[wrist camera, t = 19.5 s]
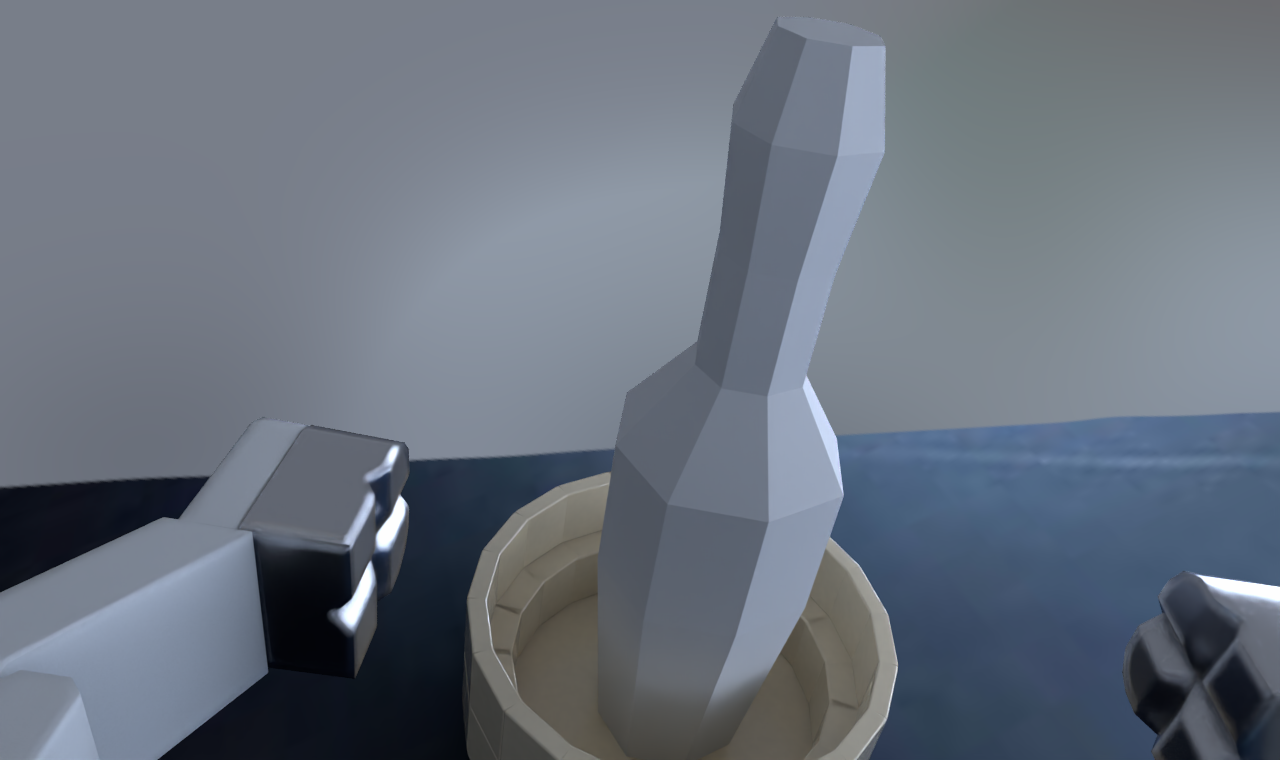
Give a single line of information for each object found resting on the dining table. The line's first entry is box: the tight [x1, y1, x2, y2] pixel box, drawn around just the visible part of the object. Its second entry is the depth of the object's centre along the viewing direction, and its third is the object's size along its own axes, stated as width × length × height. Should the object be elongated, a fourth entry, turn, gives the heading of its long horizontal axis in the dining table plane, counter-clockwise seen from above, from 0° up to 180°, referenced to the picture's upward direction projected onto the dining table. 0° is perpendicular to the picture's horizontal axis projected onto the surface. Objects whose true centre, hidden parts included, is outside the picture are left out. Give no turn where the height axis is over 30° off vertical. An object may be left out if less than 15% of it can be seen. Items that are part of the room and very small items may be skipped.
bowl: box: [462, 472, 898, 760], centre depth 30 cm, size 13×13×6 cm
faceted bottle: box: [598, 17, 885, 760], centre depth 25 cm, size 6×6×22 cm
